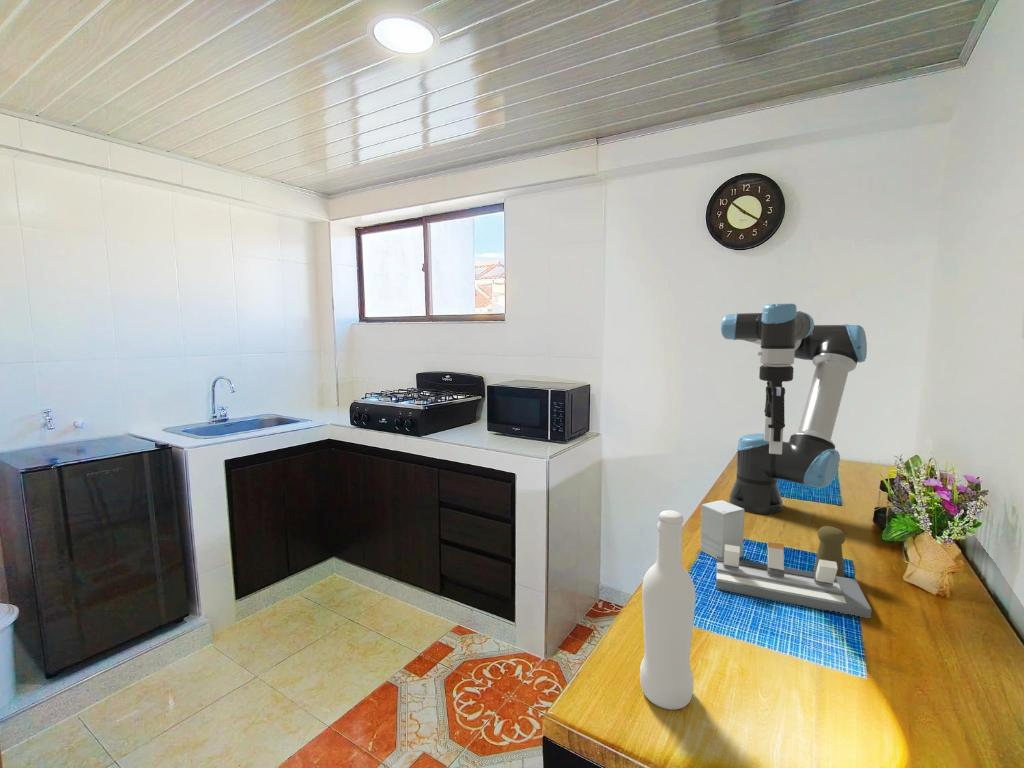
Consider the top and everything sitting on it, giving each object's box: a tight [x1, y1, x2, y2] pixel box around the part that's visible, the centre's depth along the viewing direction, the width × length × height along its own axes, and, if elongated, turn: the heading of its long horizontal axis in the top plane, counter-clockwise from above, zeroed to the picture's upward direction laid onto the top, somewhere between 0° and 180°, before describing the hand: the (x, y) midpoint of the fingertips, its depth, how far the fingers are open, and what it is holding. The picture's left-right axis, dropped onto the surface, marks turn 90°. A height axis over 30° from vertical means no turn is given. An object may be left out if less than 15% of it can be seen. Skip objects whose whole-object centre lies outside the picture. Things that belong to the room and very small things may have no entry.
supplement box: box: [700, 499, 745, 560], centre depth 118 cm, size 7×7×13 cm
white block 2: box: [814, 559, 838, 585], centre depth 98 cm, size 2×3×7 cm
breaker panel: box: [715, 556, 872, 619], centre depth 103 cm, size 12×28×2 cm, turn 66°
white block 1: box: [723, 544, 740, 569], centre depth 106 cm, size 2×3×7 cm
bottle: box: [639, 509, 697, 711], centre depth 73 cm, size 8×8×30 cm
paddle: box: [766, 541, 785, 577], centre depth 104 cm, size 2×3×7 cm, turn 66°
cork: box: [812, 525, 846, 577], centre depth 108 cm, size 6×6×11 cm
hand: (772, 447), depth 121 cm, fingers open, 12 cm apart
